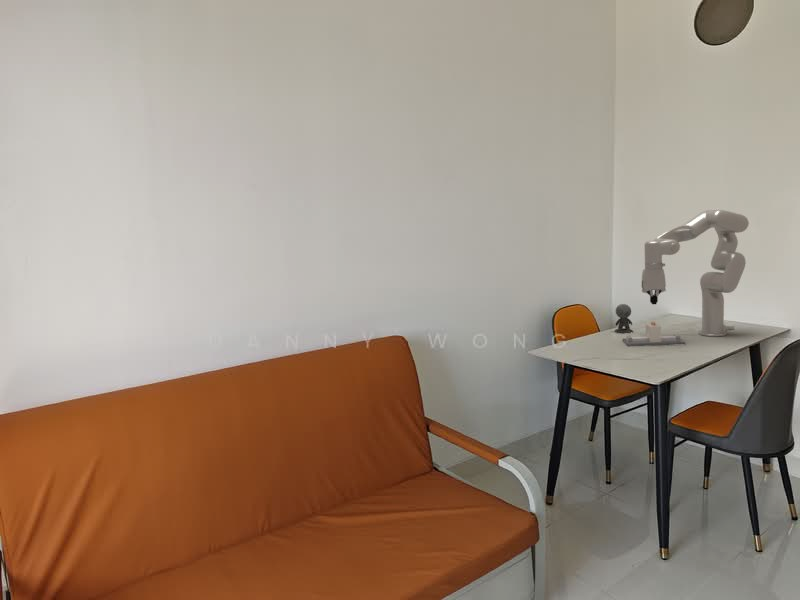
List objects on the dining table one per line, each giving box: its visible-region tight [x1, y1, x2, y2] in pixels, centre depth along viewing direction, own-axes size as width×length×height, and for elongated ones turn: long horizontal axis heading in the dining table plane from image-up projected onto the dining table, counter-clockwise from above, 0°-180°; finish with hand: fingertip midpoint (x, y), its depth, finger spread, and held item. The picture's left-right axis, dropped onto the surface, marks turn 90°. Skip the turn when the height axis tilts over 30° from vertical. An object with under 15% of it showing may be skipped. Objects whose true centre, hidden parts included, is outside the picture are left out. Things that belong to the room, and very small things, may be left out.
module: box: [645, 321, 662, 342], centre depth 270 cm, size 5×8×9 cm, turn 170°
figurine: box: [614, 303, 634, 334], centre depth 297 cm, size 9×10×15 cm
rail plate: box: [622, 333, 686, 347], centre depth 270 cm, size 26×11×3 cm, turn 80°
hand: (653, 303), depth 269 cm, fingers closed
